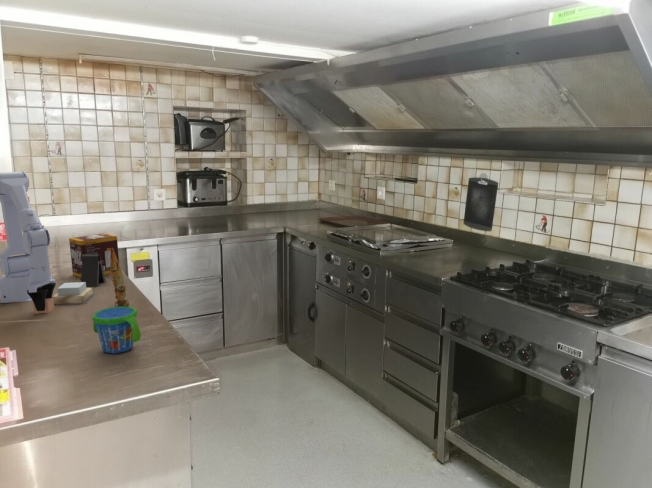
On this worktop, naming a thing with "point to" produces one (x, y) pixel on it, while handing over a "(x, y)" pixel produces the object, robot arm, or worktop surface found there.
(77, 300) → the oak slab
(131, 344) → the snack cup
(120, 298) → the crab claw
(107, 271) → the supplement box
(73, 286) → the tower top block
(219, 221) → the worktop surface
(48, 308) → the terracotta block
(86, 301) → the rubber mat
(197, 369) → the worktop surface
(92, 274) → the phone stand
